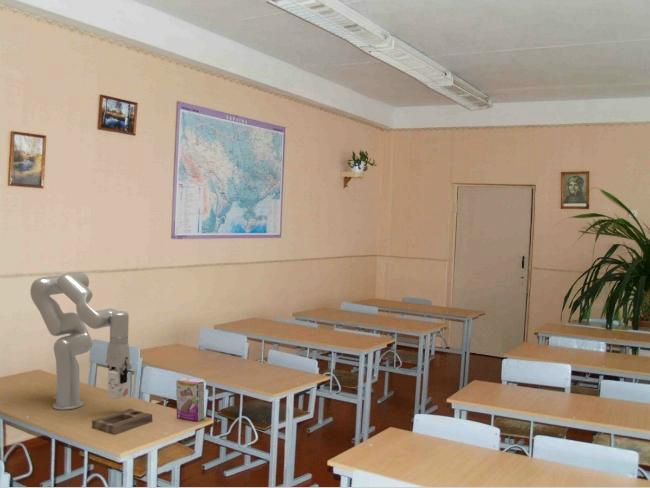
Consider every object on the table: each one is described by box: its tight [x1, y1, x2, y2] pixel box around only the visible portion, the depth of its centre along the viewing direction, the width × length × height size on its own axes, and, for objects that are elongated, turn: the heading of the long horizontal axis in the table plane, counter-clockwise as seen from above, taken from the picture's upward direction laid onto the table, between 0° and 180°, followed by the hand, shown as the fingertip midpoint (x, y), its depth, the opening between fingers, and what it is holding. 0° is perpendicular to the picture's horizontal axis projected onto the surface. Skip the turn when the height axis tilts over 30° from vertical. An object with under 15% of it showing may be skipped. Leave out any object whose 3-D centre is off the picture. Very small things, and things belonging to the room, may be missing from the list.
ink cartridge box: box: [107, 366, 129, 400], centre depth 275 cm, size 9×5×15 cm, turn 167°
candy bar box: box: [176, 377, 205, 422], centre depth 270 cm, size 11×5×16 cm, turn 65°
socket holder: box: [91, 408, 153, 435], centre depth 263 cm, size 14×19×3 cm
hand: (118, 381), depth 275 cm, fingers closed on ink cartridge box, 6 cm apart
